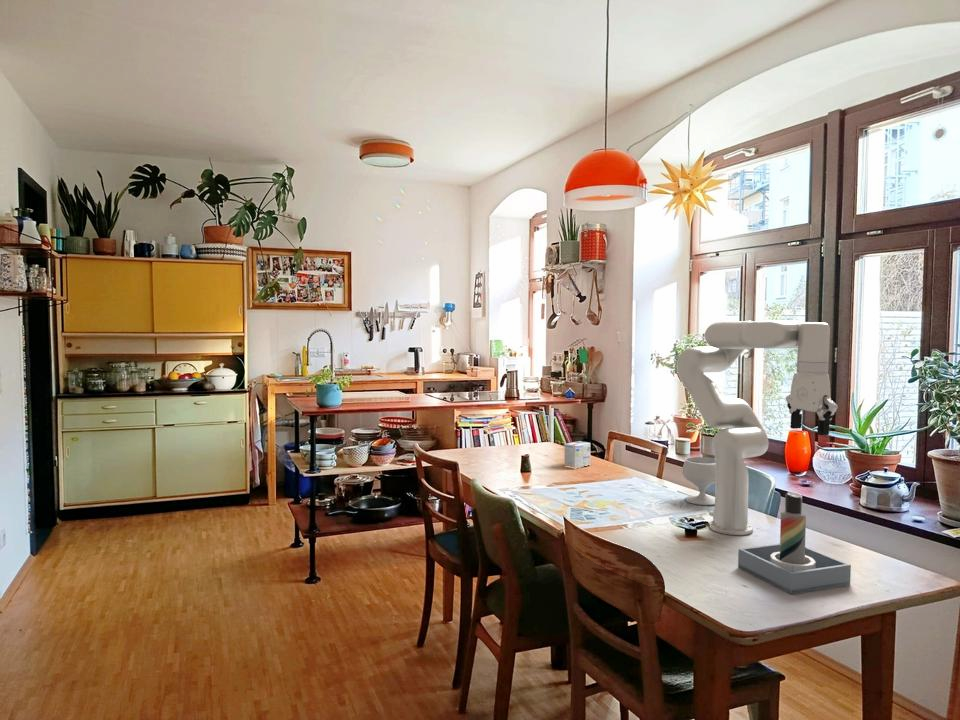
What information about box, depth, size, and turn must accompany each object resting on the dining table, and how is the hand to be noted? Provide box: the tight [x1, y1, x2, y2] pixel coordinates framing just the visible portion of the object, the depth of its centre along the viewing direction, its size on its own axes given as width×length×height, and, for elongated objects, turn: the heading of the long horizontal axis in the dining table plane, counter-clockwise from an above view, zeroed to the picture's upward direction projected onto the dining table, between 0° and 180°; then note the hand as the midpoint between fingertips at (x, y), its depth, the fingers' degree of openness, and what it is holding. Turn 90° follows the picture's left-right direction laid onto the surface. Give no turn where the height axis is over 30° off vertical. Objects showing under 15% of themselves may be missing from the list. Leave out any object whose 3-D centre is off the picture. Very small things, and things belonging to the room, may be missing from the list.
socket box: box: [737, 543, 852, 596], centre depth 163 cm, size 18×18×5 cm
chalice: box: [681, 456, 716, 506], centre depth 233 cm, size 14×14×15 cm
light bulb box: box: [563, 440, 591, 468], centre depth 290 cm, size 11×7×11 cm, turn 129°
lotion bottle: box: [779, 492, 807, 565], centre depth 163 cm, size 6×6×20 cm
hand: (809, 431), depth 175 cm, fingers open, 9 cm apart
